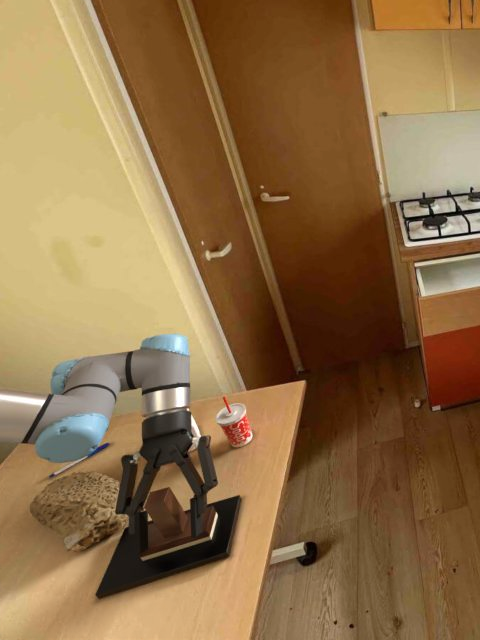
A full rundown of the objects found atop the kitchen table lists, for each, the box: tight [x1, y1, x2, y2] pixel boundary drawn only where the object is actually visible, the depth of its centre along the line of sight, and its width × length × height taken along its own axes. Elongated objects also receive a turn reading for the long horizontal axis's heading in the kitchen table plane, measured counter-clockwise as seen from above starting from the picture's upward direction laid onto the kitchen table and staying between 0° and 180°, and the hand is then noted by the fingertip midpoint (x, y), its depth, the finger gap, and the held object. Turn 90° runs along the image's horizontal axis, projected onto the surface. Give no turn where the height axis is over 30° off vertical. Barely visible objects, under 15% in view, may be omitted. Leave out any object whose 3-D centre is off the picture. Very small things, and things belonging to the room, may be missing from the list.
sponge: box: [29, 470, 129, 553], centre depth 85 cm, size 13×8×20 cm
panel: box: [94, 494, 243, 600], centre depth 81 cm, size 20×12×2 cm, turn 110°
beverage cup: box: [214, 396, 253, 448], centre depth 99 cm, size 6×6×14 cm
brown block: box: [138, 486, 218, 561], centre depth 78 cm, size 11×5×12 cm, turn 110°
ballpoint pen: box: [48, 442, 110, 478], centre depth 97 cm, size 10×1×1 cm, turn 147°
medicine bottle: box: [187, 408, 202, 453], centre depth 98 cm, size 7×7×12 cm
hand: (169, 543), depth 76 cm, fingers open, 8 cm apart
